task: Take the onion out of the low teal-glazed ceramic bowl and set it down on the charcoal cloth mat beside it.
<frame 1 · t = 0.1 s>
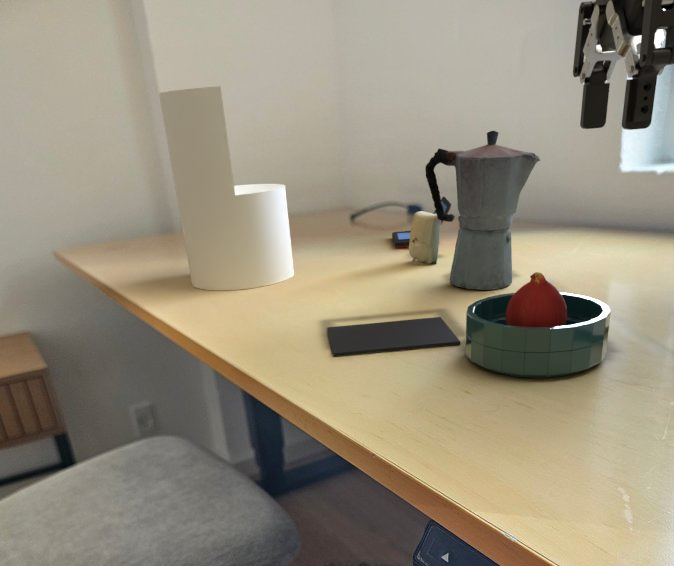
hand: (612, 128, 59), 20 cm above the table, tool pointing down, fingers open, 8 cm apart
handheld console: (420, 242, 129), on the table
cream rounded pillar: (426, 263, 111), on the table
white cylindrical chair: (243, 278, 111), on the table
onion: (533, 353, 66), resting on bowl
bowl: (533, 357, 67), on the table
moka pot: (477, 285, 95), on the table
mat: (390, 337, 76), on the table
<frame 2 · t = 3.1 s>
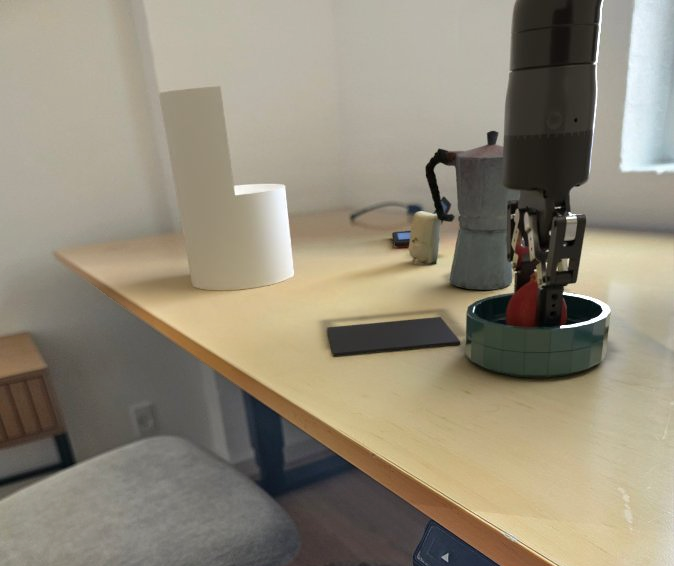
hand: (535, 316, 65), 4 cm above the table, tool pointing down, fingers closed on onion, 6 cm apart
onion: (533, 353, 66), resting on bowl, touching gripper
everything else where it was.
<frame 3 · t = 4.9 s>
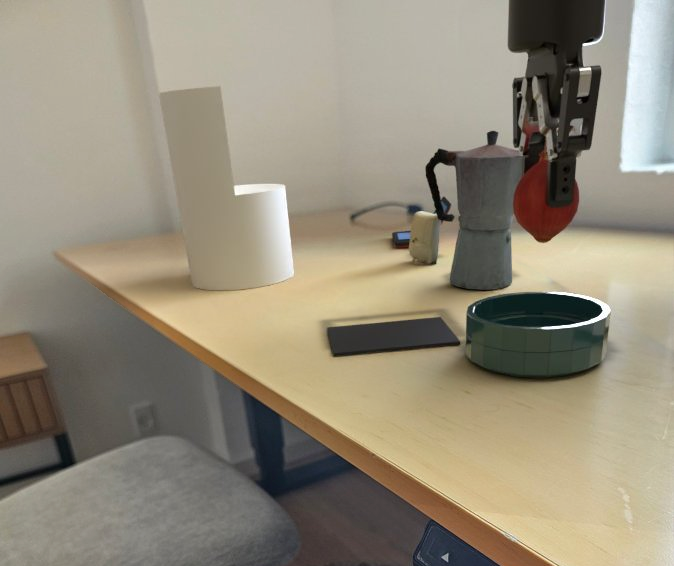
hand: (545, 201, 60), 15 cm above the table, tool pointing down, fingers closed on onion, 6 cm apart
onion: (543, 244, 61), point 11 cm above the table, touching gripper
everything else where it was.
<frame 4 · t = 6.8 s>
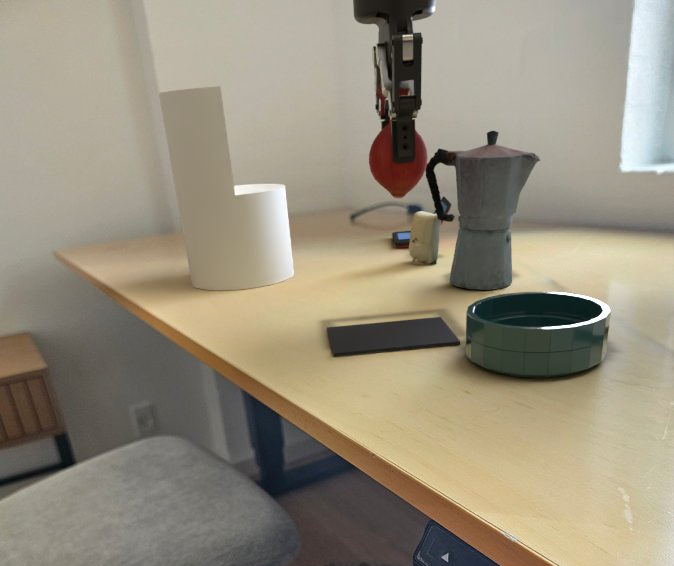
hand: (398, 160, 66), 19 cm above the table, tool pointing down, fingers closed on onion, 6 cm apart
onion: (399, 200, 68), point 15 cm above the table, touching gripper
everything else where it was.
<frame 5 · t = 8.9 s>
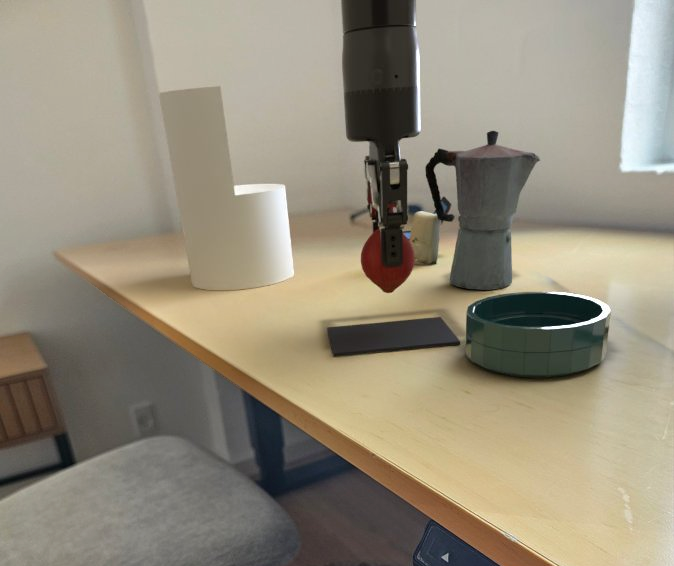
hand: (387, 259, 72), 9 cm above the table, tool pointing down, fingers closed on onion, 6 cm apart
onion: (389, 294, 74), point 5 cm above the table, touching gripper
everything else where it was.
when the fingers open (4 cm above the table, at t = 10.6 s): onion stays where it is, resting on mat.
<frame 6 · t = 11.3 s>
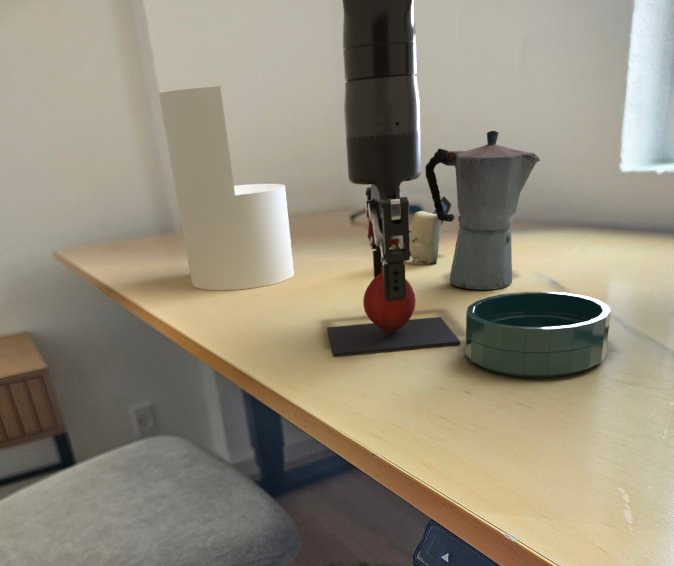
hand: (389, 290, 73), 5 cm above the table, tool pointing down, fingers open, 8 cm apart
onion: (390, 335, 76), resting on mat
everything else where it was.
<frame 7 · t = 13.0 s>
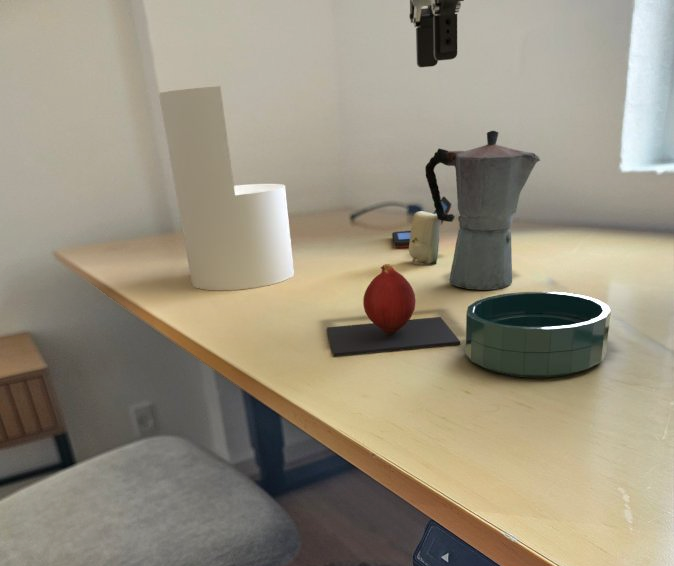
hand: (435, 63, 69), 27 cm above the table, tool pointing down, fingers open, 8 cm apart
nothing on the table moved.
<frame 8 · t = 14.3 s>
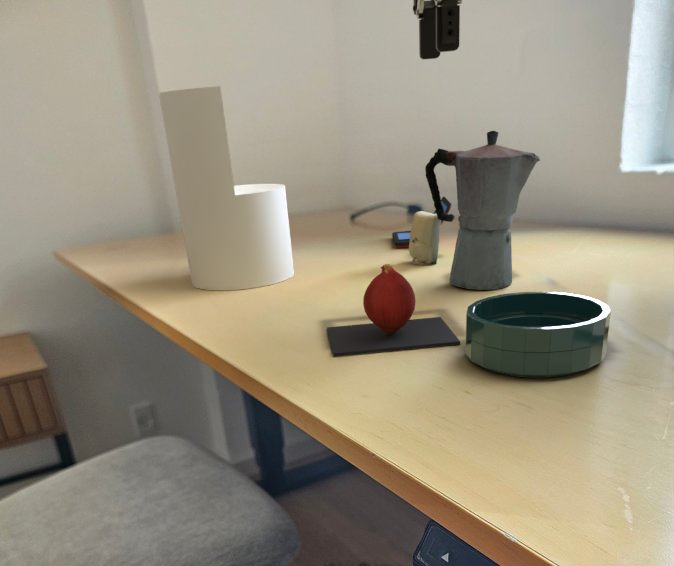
hand: (438, 55, 69), 28 cm above the table, tool pointing down, fingers open, 8 cm apart
nothing on the table moved.
at the end: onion inside the target area on the mat (0.1 cm from its centre), point 0.2 cm above the mat's base; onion touching mat; the gripper is holding nothing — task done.
